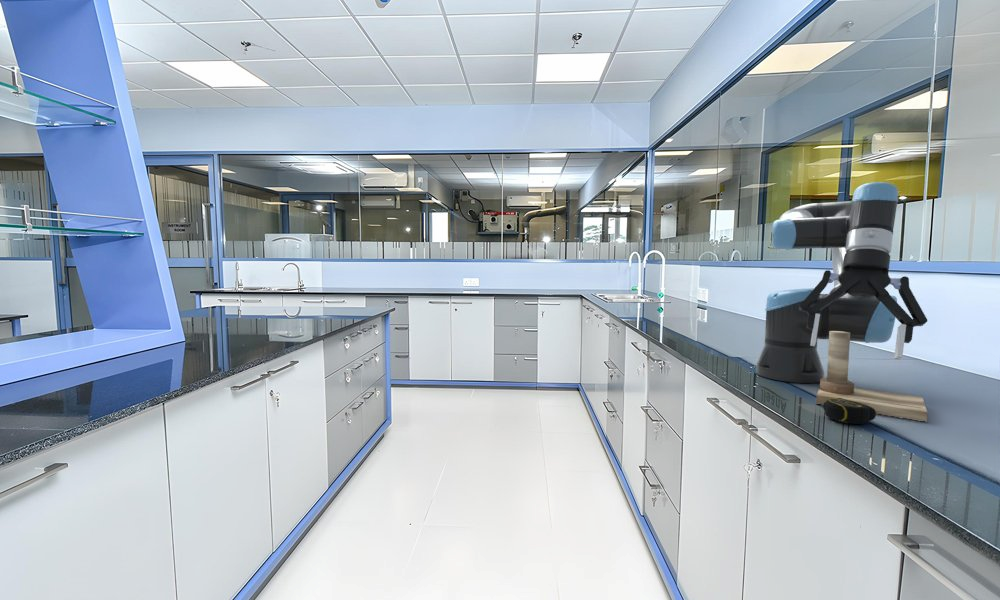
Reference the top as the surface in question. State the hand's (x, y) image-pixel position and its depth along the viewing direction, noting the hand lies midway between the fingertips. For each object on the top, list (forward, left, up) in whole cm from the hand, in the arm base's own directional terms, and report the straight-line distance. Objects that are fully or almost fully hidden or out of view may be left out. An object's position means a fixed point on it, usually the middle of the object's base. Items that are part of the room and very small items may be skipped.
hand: (853, 351), depth 89 cm
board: (-6, +3, -12) cm, 14 cm away
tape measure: (+7, 0, -13) cm, 14 cm away
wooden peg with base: (-7, -3, -10) cm, 13 cm away
